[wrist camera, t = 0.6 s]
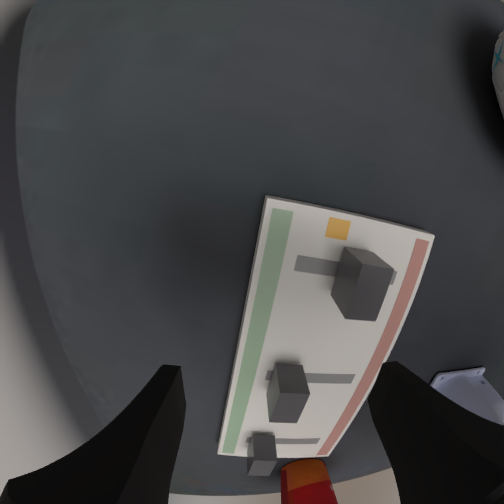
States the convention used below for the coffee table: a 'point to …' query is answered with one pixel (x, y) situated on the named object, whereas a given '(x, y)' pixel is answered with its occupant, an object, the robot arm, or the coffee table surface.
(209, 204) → the coffee table surface
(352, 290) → the block
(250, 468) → the block
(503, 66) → the puzzle ball
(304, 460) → the paper cup
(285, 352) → the breaker panel
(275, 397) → the breaker
